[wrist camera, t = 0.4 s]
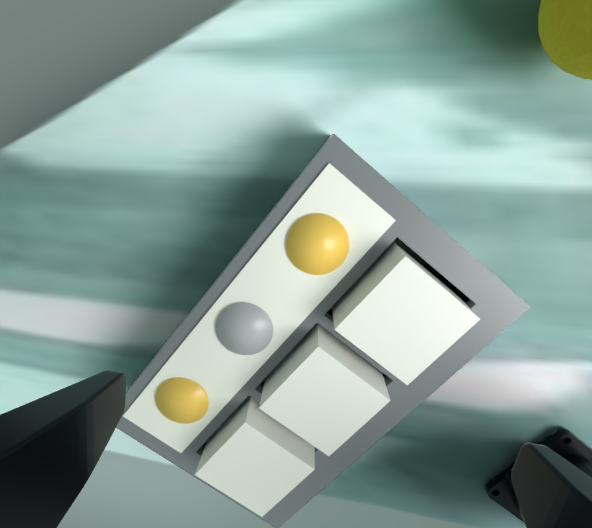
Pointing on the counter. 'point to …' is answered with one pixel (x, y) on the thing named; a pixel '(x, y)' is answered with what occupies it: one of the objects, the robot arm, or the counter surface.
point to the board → (303, 316)
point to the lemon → (567, 34)
